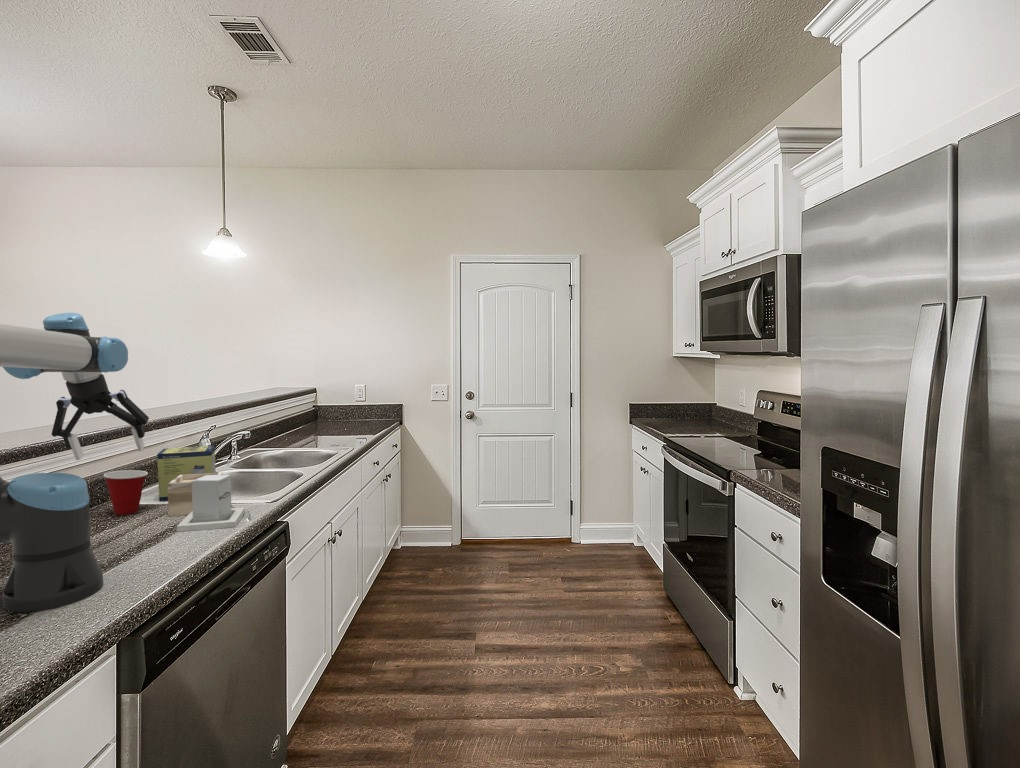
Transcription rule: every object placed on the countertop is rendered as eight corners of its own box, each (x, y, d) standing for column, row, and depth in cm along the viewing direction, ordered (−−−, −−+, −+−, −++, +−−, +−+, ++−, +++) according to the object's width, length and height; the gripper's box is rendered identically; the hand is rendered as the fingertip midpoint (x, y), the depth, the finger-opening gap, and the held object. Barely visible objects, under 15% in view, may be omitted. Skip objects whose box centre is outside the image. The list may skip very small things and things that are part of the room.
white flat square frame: (235, 527, 147) (235, 521, 147) (176, 531, 143) (176, 526, 143) (244, 512, 160) (244, 507, 160) (191, 516, 157) (191, 511, 156)
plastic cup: (145, 515, 158) (143, 474, 157) (100, 519, 154) (98, 477, 153) (153, 505, 168) (151, 467, 167) (111, 509, 164) (109, 470, 163)
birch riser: (214, 512, 160) (213, 481, 159) (168, 516, 157) (167, 483, 156) (224, 502, 172) (223, 472, 171) (181, 505, 168) (180, 474, 168)
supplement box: (218, 526, 148) (217, 480, 147) (191, 526, 148) (190, 480, 147) (232, 517, 156) (231, 474, 155) (207, 517, 156) (205, 474, 155)
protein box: (164, 494, 181) (162, 448, 180) (217, 489, 187) (215, 445, 186) (158, 502, 172) (156, 453, 171) (213, 497, 178) (212, 450, 177)
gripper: (147, 365, 137) (169, 438, 146) (28, 378, 130) (59, 453, 139) (139, 376, 130) (162, 451, 139) (13, 390, 123) (47, 469, 132)
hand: (111, 453), depth 139 cm, fingers open, 13 cm apart
